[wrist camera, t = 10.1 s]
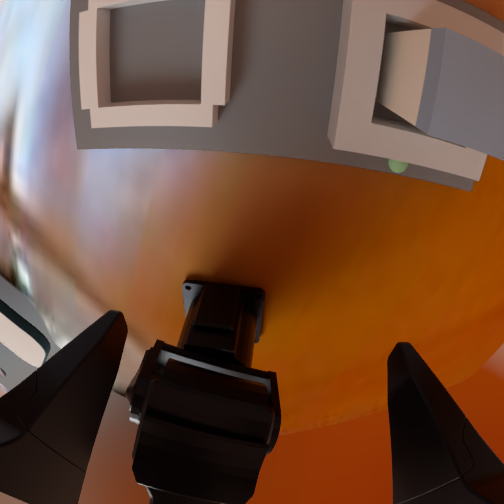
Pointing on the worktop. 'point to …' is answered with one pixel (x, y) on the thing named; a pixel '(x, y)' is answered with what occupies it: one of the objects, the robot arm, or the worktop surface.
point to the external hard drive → (22, 337)
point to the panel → (262, 80)
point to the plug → (445, 87)
